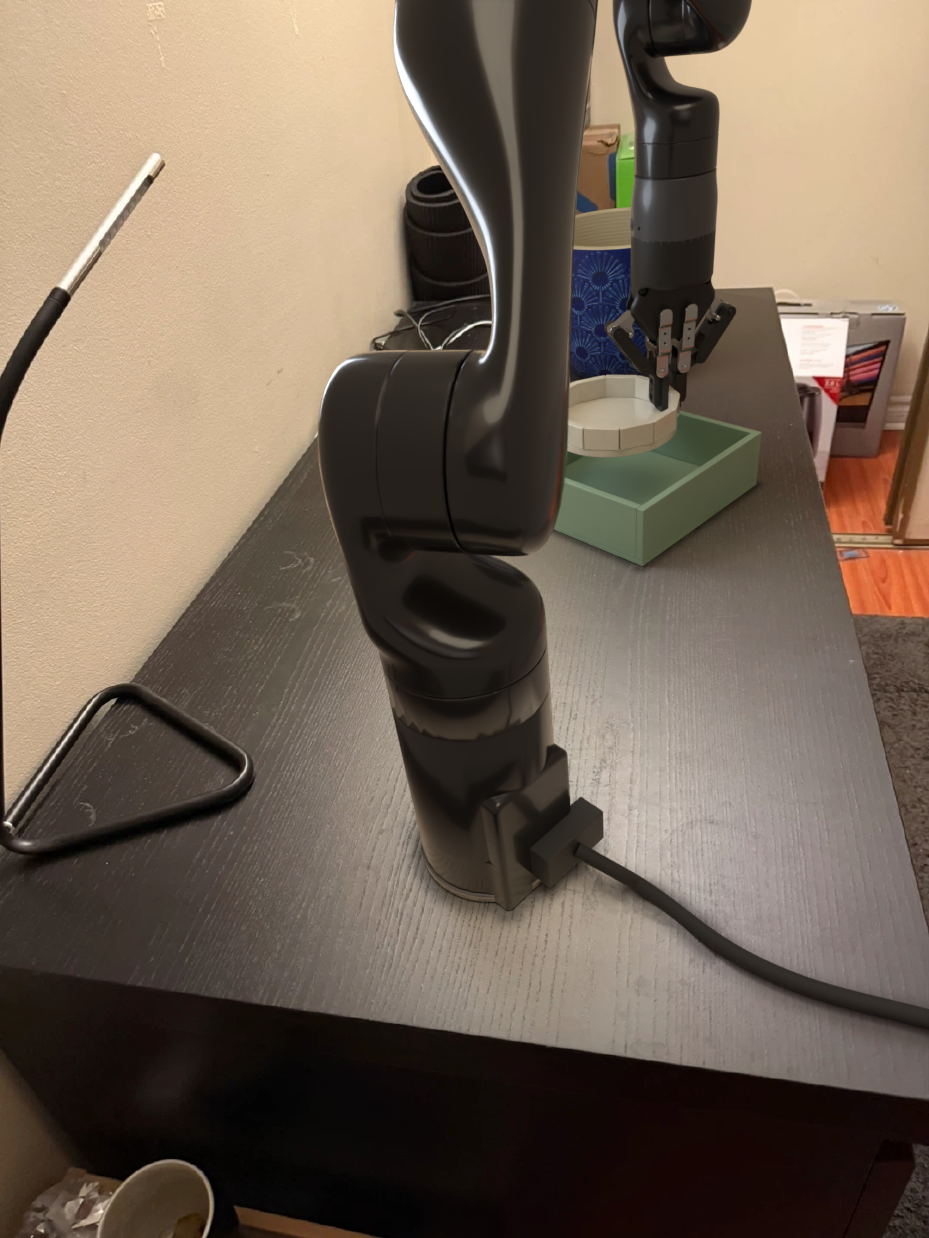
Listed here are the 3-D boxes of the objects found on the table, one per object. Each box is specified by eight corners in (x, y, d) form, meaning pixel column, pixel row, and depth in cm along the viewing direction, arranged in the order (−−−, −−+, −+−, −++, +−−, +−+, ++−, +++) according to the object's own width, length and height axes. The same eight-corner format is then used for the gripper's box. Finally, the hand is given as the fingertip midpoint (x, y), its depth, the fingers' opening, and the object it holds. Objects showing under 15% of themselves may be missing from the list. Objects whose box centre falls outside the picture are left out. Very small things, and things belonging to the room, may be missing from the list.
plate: (703, 419, 85) (705, 391, 83) (622, 470, 79) (622, 441, 77) (603, 392, 93) (602, 366, 92) (522, 436, 87) (520, 409, 85)
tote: (756, 484, 90) (762, 431, 86) (642, 566, 80) (643, 511, 76) (611, 440, 102) (611, 392, 99) (497, 506, 92) (492, 455, 89)
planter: (553, 347, 130) (547, 213, 118) (692, 340, 125) (699, 200, 114) (540, 402, 114) (531, 253, 102) (698, 396, 109) (707, 240, 98)
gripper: (618, 248, 72) (618, 434, 83) (762, 221, 74) (745, 407, 84) (588, 231, 78) (592, 406, 89) (722, 206, 80) (711, 381, 90)
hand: (667, 406), depth 87 cm, fingers closed on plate, 1 cm apart
